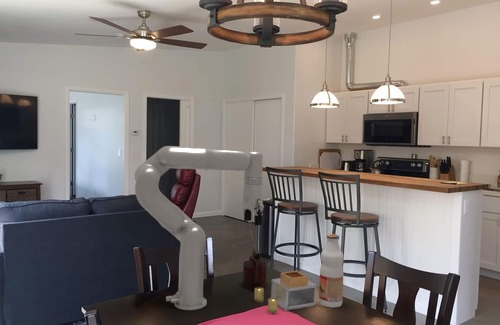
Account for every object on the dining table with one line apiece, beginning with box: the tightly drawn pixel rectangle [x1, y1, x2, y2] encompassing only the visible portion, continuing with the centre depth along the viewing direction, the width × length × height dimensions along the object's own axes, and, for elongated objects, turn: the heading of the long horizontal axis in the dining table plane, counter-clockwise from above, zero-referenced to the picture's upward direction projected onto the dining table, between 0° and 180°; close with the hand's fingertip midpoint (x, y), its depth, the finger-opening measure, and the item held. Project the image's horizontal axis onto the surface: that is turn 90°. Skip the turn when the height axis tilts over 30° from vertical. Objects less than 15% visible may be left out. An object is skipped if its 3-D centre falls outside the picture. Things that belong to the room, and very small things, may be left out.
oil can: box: [242, 223, 268, 290], centre depth 184 cm, size 28×11×25 cm, turn 11°
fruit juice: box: [318, 233, 345, 309], centre depth 162 cm, size 9×9×28 cm
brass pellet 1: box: [254, 287, 265, 303], centre depth 163 cm, size 4×4×5 cm
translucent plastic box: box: [270, 270, 318, 312], centre depth 161 cm, size 14×12×12 cm
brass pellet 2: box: [267, 296, 279, 314], centre depth 152 cm, size 4×4×5 cm
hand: (252, 222), depth 165 cm, fingers open, 9 cm apart
